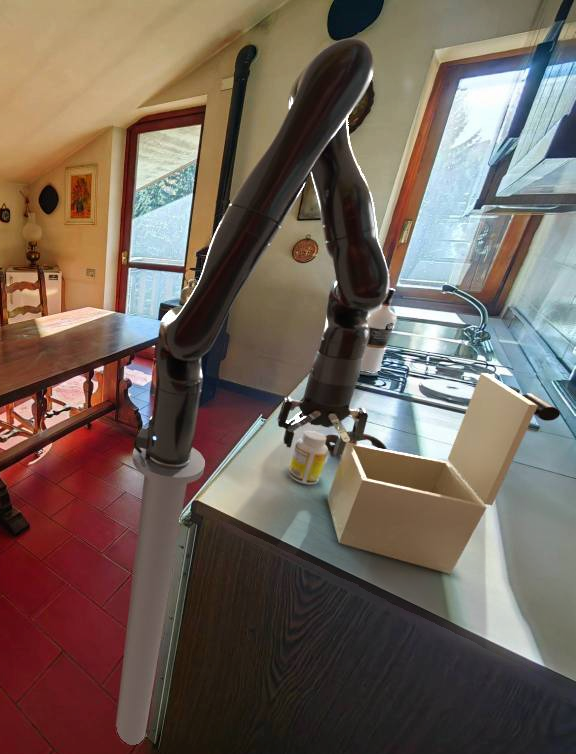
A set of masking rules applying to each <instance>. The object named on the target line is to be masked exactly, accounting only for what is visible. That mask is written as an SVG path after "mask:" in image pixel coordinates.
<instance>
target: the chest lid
mask: <svg viewBox="0 0 576 754" xmlns="http://www.w3.org/2000/svg"><path fill="white" fill-rule="evenodd" d="M506 385H507V384H504V383H503V382H501V381H500V380H499V379H497V378H495V377H494V376H492V375H490V374H489V373H484V372H480V374H479V376H478V380H477V383H476V385H475V387H474V390H473V393H472V396H471V398H470V400H469V403H468V406H467V407H466V411H465V413H464V416H463V418H462V421H461V424H460V426H459V429H458V430H457V433H456V437H455V439H454V442H453V444H452V447H451V449H450V452H449V454H448V457H447V460H448V462H450V463H451V465H452V466H453V467H454V469H455V470H456V471H457V472H458V473H459V475H460V476H461V477H462V478H463V479H464V481H465V482H466V483H467V484H468V486H469V487H470V488H471V489H472V490H473V492H474V493H475V494H476V495H477V497H478V498H479V499H480V500H481V501H482V503H483V504H484V505H487V506H493V505H494V502H495V500H496V498H497V496H498V493H499V491H500V489H501V487H502V484H503V482H504V480H505V479H506V477H507V474H508V472H509V469H510V467H511V465H512V463H513V461H514V458H515V456H516V454H517V452H518V450H519V448H520V445H521V443H522V441H523V439H524V438H525V434H526V433H527V431H528V428H529V426H530V424H531V422H532V419H533V418H534V416H536V418H539V419H540V420H542V421H546V422H551V421H554V420H557V419H558V418H559V417H560V415H561V411H560V409H558V408H557V407H555V406H554V405H552V404H550V403H549V402H547V401H545V400H544V399H543V398H540V397H539V396H537V395H535V394H534V393H525V394H524V393H523V394H521V393H517V392H516V391H514V390H512V389H511V388H509V387H508V386H509V385H508V386H506Z"/></svg>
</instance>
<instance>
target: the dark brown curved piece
mask: <svg viewBox="0 0 576 754" xmlns="http://www.w3.org/2000/svg"><path fill="white" fill-rule="evenodd" d="M324 436H325V437H326V442H325V445H326V446H327V448H328V452H329V455H330V456H331V457H332V458H336V457H335V455H334V448H335V445H336V442H337V439H338V436H339V434H338V435H337V434H327V435H324ZM361 441H369V442H370V443H371V446H372V447H375V448H380V449H385V450H388V448H387V446H386V445H385V444H384V443H383V442H382V441H381V440H380V439H378V438H377V437H375V436H372V435H370V434H366V433H364V434H363V438H362V440H361ZM331 443H332V444H331ZM349 443H354V444H358V441H356V440H351V441H349Z"/></svg>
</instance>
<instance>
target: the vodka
mask: <svg viewBox="0 0 576 754" xmlns="http://www.w3.org/2000/svg"><path fill="white" fill-rule="evenodd" d="M395 293H396V289H394V288H390V290H389V293H388V296H387V297H386V299H385V300H384V302H383V303H382V304H380V305H379V307H377V308H375V309H372V310H370V312H369V316H368V327H369V330H370V334H369V339H368V343H367V346H366V349H365V352H364V355H363V359H362V364H361V370H363V371H370V372H378V371H380V370H382V362H383V359H384V356H385V352H386V351H387V350H388V349H387V347H388V345H389V341H390V338H391V335H392V333H393V330H394V328H395V325H396V323H397V320H398V316H397V314H396V313H395V312H394V311H392V310H391V305H392V301H393V299H394V296H395ZM380 372H381V371H380ZM360 375H361V376H367V377H375V376H378V375H379V374H365V373H361V372H360V374H359V376H360Z"/></svg>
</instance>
